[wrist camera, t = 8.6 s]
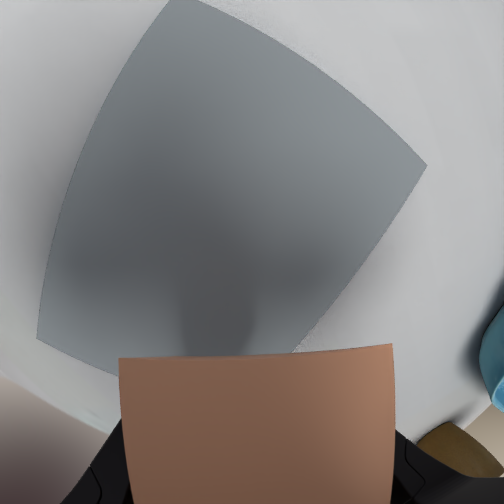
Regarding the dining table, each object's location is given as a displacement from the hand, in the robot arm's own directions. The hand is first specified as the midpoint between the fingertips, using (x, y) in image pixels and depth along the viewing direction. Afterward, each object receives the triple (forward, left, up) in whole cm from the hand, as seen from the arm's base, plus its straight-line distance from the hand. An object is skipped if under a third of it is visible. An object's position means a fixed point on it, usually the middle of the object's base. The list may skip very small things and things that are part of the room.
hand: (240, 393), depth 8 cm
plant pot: (-14, -48, -9) cm, 51 cm away
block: (-5, -3, -4) cm, 7 cm away
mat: (0, +1, -8) cm, 8 cm away
